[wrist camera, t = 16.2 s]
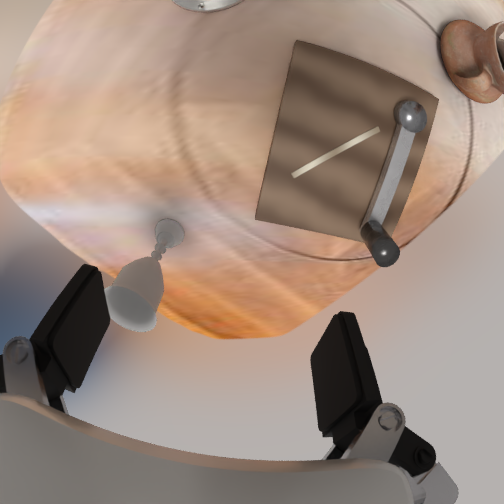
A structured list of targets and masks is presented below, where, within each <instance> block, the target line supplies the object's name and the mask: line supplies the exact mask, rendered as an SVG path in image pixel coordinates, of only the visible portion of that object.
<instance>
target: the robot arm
mask: <svg viewBox="0 0 504 504" xmlns="http://www.w3.org/2000/svg"><path fill="white" fill-rule="evenodd" d="M172 1H173V2H174V3H175V4H177V5H178V6H180V7H182V8H184V9H186V10H190V11H194V12H215V11H220V10H224V9H227V8H230V7H232V6H234V5H236V4H239V3H240V2H242V1H243V0H172ZM203 6H204V8H201V7H203ZM109 324H110V314H109V310H108V305H107V301H106V296H105V291H104V286H103V280H102V274H101V272H100V271H98V268H97V267H95V266H91V265H87V264H84V265H82V266H81V268H80V269H79V270H78V271H77V272H76V274H75V275H74V277H73V278H72V279H71V280H70V282H69V283H68V284H67V286H66V287H65V288H64V290H63V291H62V292H61V294H60V295H59V296H58V297H57V299H56V300H55V302H54V303H53V305H52V306H51V307H50V309H49V310H48V312H47V313H46V315H45V316H44V318H43V319H42V321H41V322H40V324H39V325H38V327H37V329H36V330H35V331H34V333H33V335H32V336H31V338H30V339H27V338H26V337H22V336H18V337H14V338H12V339H11V340H9V341H8V342H7V343H6V345H5V347H4V350H3V354H2V355H0V504H454V503H455V502H456V500H457V498H458V488H457V485H456V484H455V483H454V481H453V480H452V479H451V477H450V476H449V475H448V473H447V472H446V471H445V470H444V468H443V467H442V466H441V464H440V463H439V462H438V463H435V461H436V453H435V450H434V448H433V446H431V445H430V444H429V443H428V442H426V441H425V440H424V439H422V438H421V437H419V436H418V435H417V434H415V433H414V432H412V431H411V430H410V429H408V428H407V427H406V426H405V416H404V413H403V411H402V410H401V409H400V408H399V407H398V406H397V405H395V404H393V403H382V398H381V395H380V391H379V387H378V384H377V380H376V376H375V373H374V369H373V366H372V363H371V360H370V356H369V353H368V350H367V348H366V346H365V344H364V341H363V337H362V334H361V331H360V328H359V325H358V322H357V319H356V316H355V314H354V313H350V312H343V311H340V312H339V313H338V314H335V315H334V316H333V318H332V320H331V322H330V323H329V325H328V327H327V329H326V330H325V332H324V334H323V336H322V337H321V339H320V341H319V342H318V344H317V346H316V348H315V349H314V351H313V353H312V355H311V369H312V376H313V385H314V393H315V401H316V410H317V419H318V428H319V430H320V431H321V432H322V434H323V437H333V443H334V444H333V446H332V447H331V448H330V450H329V451H328V452H327V454H326V455H325V456H324V458H323V459H322V460H313V461H265V460H247V459H235V458H226V457H218V456H210V455H203V454H197V453H191V452H186V451H181V450H176V449H171V448H167V447H162V446H158V445H154V444H151V443H147V442H143V441H139V440H136V439H132V438H129V437H126V436H123V435H120V434H116V433H114V432H111V431H108V430H105V429H102V428H100V427H97V426H94V425H92V424H89V423H87V422H84V421H82V420H79V419H77V418H75V417H72V416H70V415H69V414H68V411H67V408H66V405H65V402H64V398H63V392H64V390H65V389H66V390H68V391H71V392H73V393H75V390H76V388H80V386H81V385H82V382H83V380H84V378H85V375H86V373H87V371H88V368H89V366H90V363H91V362H92V360H93V357H94V355H95V353H96V351H97V349H98V347H99V345H100V342H101V340H102V338H103V336H104V334H105V332H106V330H107V328H108V326H109Z"/></svg>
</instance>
